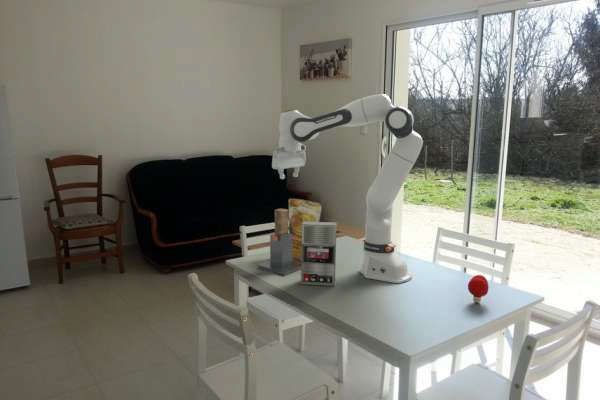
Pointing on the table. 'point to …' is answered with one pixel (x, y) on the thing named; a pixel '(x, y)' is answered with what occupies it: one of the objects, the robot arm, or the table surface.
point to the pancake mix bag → (301, 221)
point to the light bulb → (478, 287)
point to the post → (281, 222)
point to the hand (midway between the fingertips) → (289, 177)
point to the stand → (280, 256)
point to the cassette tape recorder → (318, 253)
